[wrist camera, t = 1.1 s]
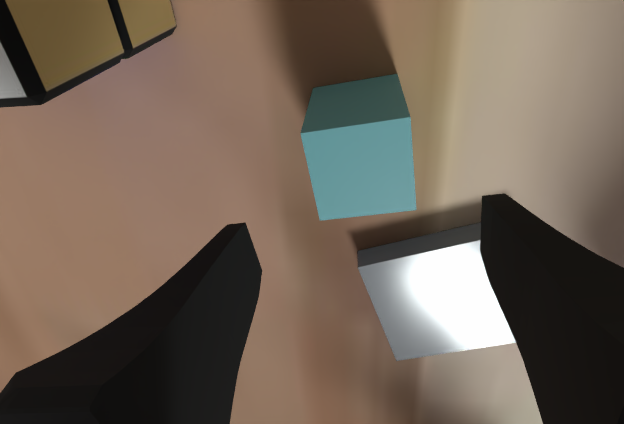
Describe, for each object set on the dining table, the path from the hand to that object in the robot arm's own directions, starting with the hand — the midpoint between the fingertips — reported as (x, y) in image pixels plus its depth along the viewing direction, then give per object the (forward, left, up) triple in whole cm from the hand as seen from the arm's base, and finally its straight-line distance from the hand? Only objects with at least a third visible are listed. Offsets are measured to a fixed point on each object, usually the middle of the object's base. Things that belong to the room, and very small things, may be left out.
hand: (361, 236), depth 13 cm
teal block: (0, 0, -10) cm, 10 cm away
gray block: (-4, +12, -10) cm, 16 cm away
